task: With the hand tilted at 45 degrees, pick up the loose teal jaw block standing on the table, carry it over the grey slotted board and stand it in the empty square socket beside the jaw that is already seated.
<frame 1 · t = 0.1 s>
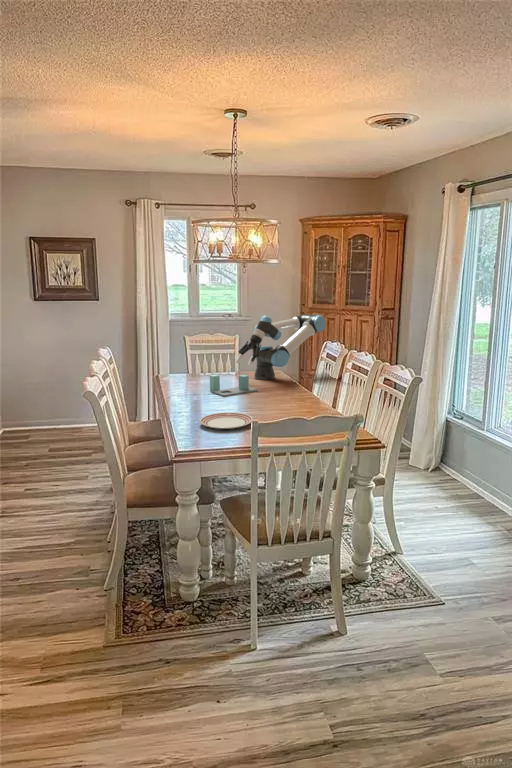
hand: (243, 364, 399), 15 cm above the table, tool tilted 35°, fingers open, 13 cm apart
dinner plate: (226, 425, 309), on the table
grey slotted board: (235, 392, 384), on the table
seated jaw: (243, 390, 388), resting on grey slotted board
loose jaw: (214, 390, 390), on the table
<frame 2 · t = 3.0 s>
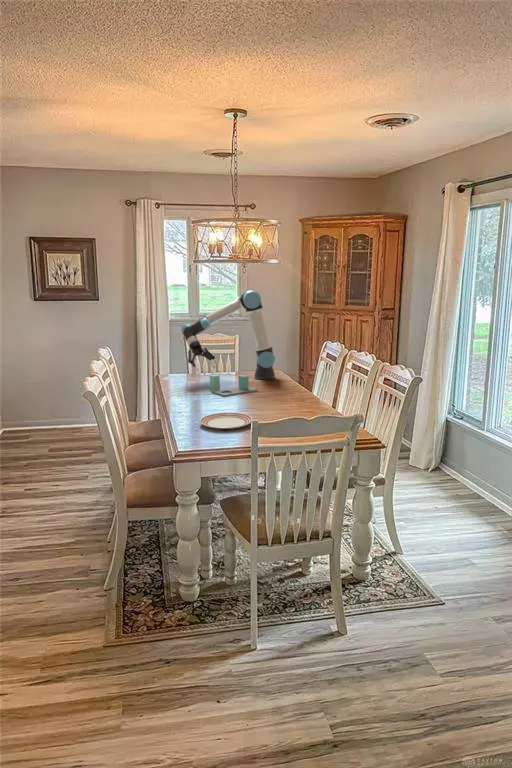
hand: (206, 369, 394), 13 cm above the table, tool tilted 45°, fingers open, 13 cm apart
nothing on the table moved.
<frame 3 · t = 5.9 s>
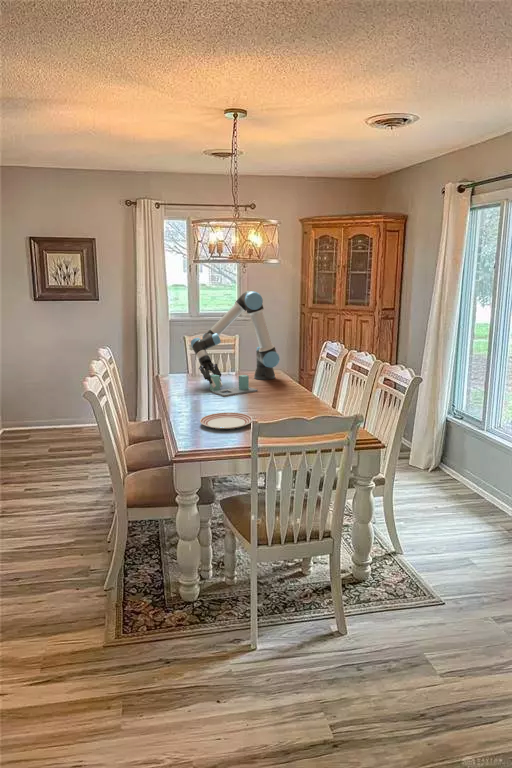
hand: (218, 386, 387), 3 cm above the table, tool tilted 45°, fingers closed on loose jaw, 5 cm apart
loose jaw: (214, 390, 390), on the table, touching gripper
everything else where it was.
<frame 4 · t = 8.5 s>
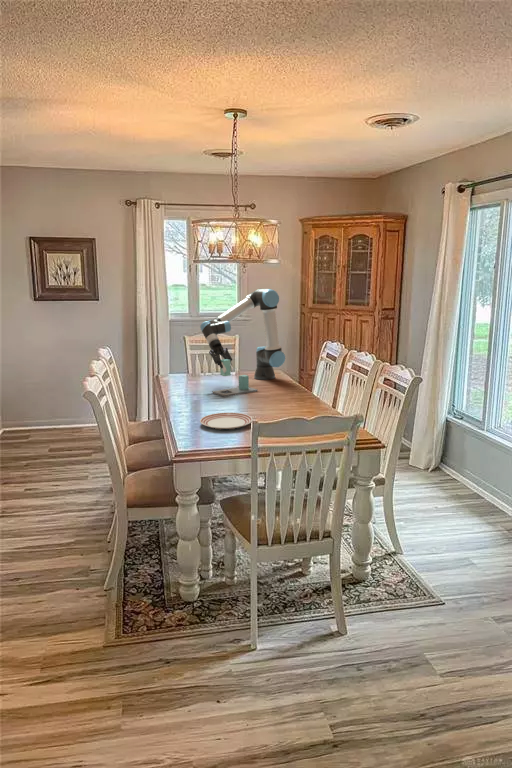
hand: (228, 371, 374), 15 cm above the table, tool tilted 45°, fingers closed on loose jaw, 5 cm apart
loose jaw: (225, 375, 378), point 12 cm above the table, touching gripper
everything else where it was.
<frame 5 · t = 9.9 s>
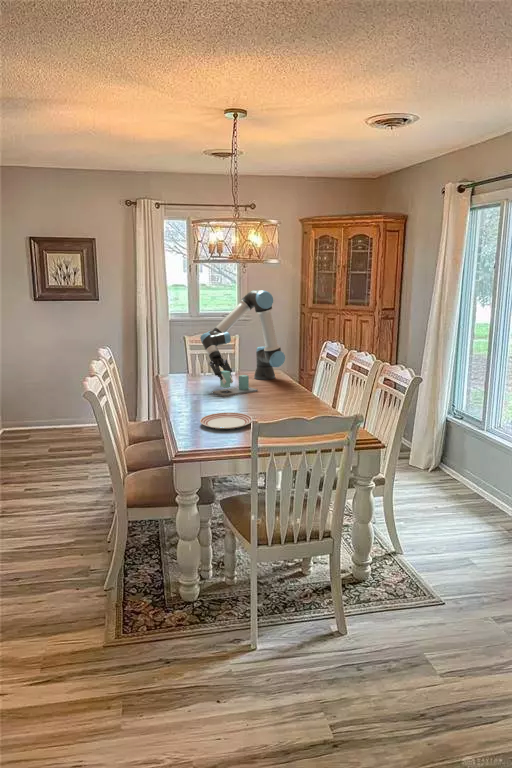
hand: (228, 382, 375), 8 cm above the table, tool tilted 45°, fingers closed on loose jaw, 5 cm apart
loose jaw: (225, 386, 379), point 5 cm above the table, touching gripper
everything else where it was.
when the fingers open (5 cm above the table, at t = 11.0 s): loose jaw drops 1 cm, resting in grey slotted board.
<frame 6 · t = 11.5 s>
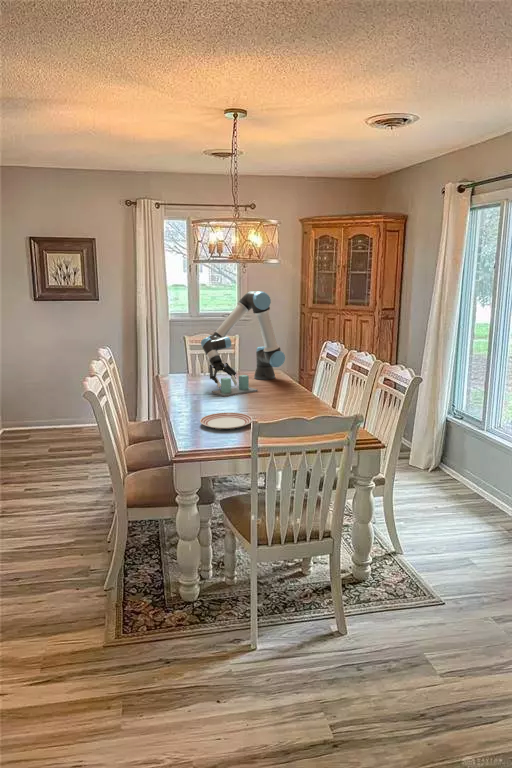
hand: (228, 385, 377), 6 cm above the table, tool tilted 45°, fingers open, 12 cm apart
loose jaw: (226, 393, 380), resting in grey slotted board
everything else where it was.
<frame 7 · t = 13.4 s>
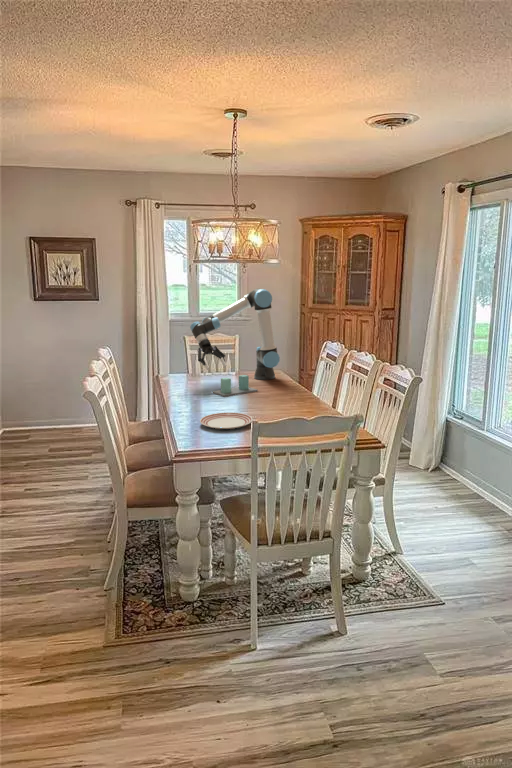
hand: (216, 367, 385), 16 cm above the table, tool tilted 45°, fingers open, 13 cm apart
nothing on the table moved.
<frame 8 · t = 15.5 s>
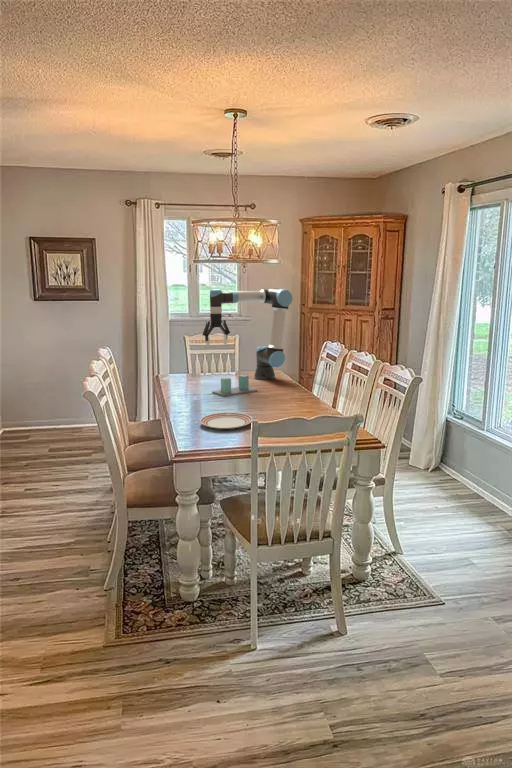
hand: (216, 345, 393), 29 cm above the table, tool pointing down, fingers open, 13 cm apart
nothing on the table moved.
at the end: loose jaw 0.0 cm from the target spot on the grey slotted board, point 0.0 cm above the grey slotted board's base; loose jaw tilted 0°; the gripper is holding nothing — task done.
